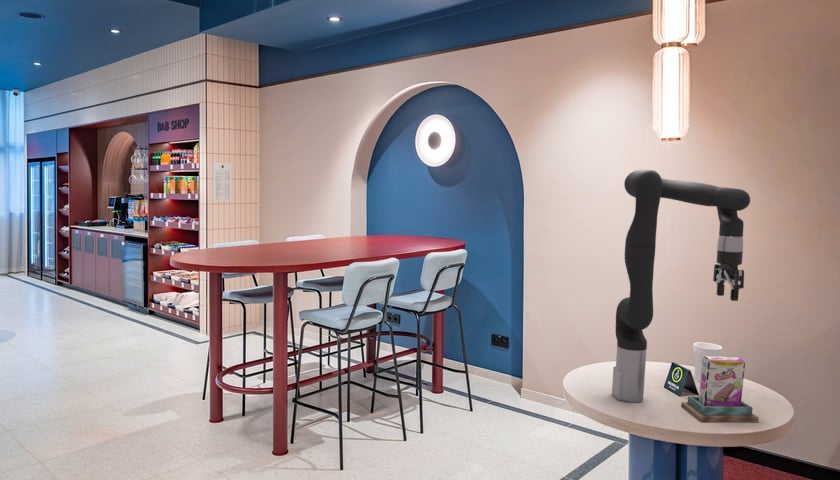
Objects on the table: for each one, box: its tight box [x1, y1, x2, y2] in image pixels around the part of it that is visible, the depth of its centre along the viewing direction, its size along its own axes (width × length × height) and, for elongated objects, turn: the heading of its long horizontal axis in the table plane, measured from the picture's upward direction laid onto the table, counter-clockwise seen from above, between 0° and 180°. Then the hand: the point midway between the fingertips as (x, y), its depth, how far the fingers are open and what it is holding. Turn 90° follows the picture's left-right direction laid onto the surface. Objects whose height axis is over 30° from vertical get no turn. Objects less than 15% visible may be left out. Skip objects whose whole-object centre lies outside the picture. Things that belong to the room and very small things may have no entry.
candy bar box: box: [698, 356, 746, 406], centre depth 186 cm, size 11×5×16 cm, turn 87°
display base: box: [680, 395, 759, 423], centre depth 187 cm, size 18×12×4 cm, turn 93°
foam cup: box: [692, 341, 723, 382], centre depth 219 cm, size 10×9×13 cm
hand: (726, 298), depth 199 cm, fingers open, 8 cm apart
